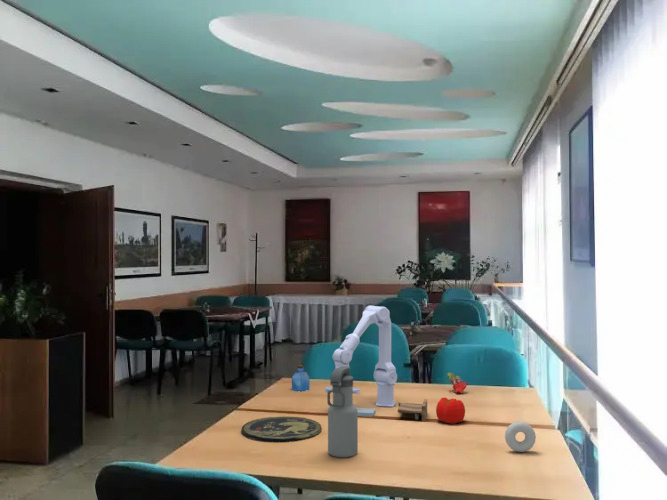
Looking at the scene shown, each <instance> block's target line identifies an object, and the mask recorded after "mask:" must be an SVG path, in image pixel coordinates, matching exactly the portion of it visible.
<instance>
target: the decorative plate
mask: <svg viewBox="0 0 667 500" xmlns="http://www.w3.org/2000/svg"><path fill="white" fill-rule="evenodd" d="M240 431H241V434H242V436H244V437H245V438H247V439H249V440H253V441H256V442H263V443H274V444H275V443H277V444H278V443H294V442H300V441H305V440H309V439H312V438H315V437H317V436H319V435H320V434H321V433H322V431H323V429H322V424H320V422H318V421H316V420H313V419H310V418H306V417H301V416H289V415H288V416H286V415H285V416H283V415H281V416H279V415H277V416H268V417H267V416H266V417H261V418H257V419H252V420H250V421H248V422H246V423H245V424H243V425H242V426H241V430H240Z"/></svg>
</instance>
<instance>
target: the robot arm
mask: <svg viewBox="0 0 667 500" xmlns="http://www.w3.org/2000/svg"><path fill="white" fill-rule="evenodd" d="M390 315H391V314H390V310H389V309H388V308H387V307H385V306H377V305H376V306H375V305H367V306H366V307H365V309H364V310H363V311H362V315H361V316H362V317H361V318H360V320H359V322H358V324H357V325H356V327H355V329H354V330H353V332H352V333H350V334H347V335H346V336H345V339H344V341H343V342H342V343H341V345H340V346H339V348H337V349H335V350H334V352H333V354H332V356H331V358H332V360H333V361H334V366H335V368H334V369H336V368H339V367H342V366H348V367H350V362H351V361H352V359H353V354H354V351H355V350H356V349H357V347H358V345H359V344H360V341H361V340H360V337H362V335H363V334H364V333H365V331H366V330H367V329H368V328H369V326H370V325H372V324H376V326H377V327H378V362H377V363H376V364H375V366H374V367H375V368H374V372H373V378H374V381H375V382H376V384H377V385H376V386H377V387H376V390H377V391H376V393H377V395H376V396H377V397H376V398H377V399H376V400H377V401H376V403H375V407H389V408H390V407H392V408H394V407H395V405H396V403H397V400H394V399H395V397H394V395H395V390H394V389H395V387H394V386H395V385H396V383H397V380H398V374H397V368H396V366H395V365H394V364H393V362H392V321H391V320H392V319H391V318H390ZM330 390H332V386H326V387H324V393H328V391H330ZM360 391H361V389H360V388H357V387H356V388H355V387H353V394H354V395H355V394H356V395H359V394H360V393H361V392H360Z"/></svg>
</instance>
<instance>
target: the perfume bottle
mask: <svg viewBox="0 0 667 500" xmlns="http://www.w3.org/2000/svg"><path fill="white" fill-rule="evenodd" d="M296 369H297V371H295V372H294V373H293V375H292V377H291V391H292V390H293V392H298V391H300V393H302V391H303V392H307V391H310V390H311V389H310V388H311V387H310V385H311V384H310V382H311V381H310V379H311V378H310V376H309V374H308V373H307V372H306V371H305V365H303V364H302V365H301V364H298V365H297V368H296ZM309 389H310V390H309ZM306 390H307V391H306Z"/></svg>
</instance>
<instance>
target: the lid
mask: <svg viewBox="0 0 667 500" xmlns="http://www.w3.org/2000/svg"><path fill="white" fill-rule="evenodd" d="M356 408H357V412H358V417H366V418H373V417H374V416H375V414H376V408H364V407H356Z"/></svg>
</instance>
